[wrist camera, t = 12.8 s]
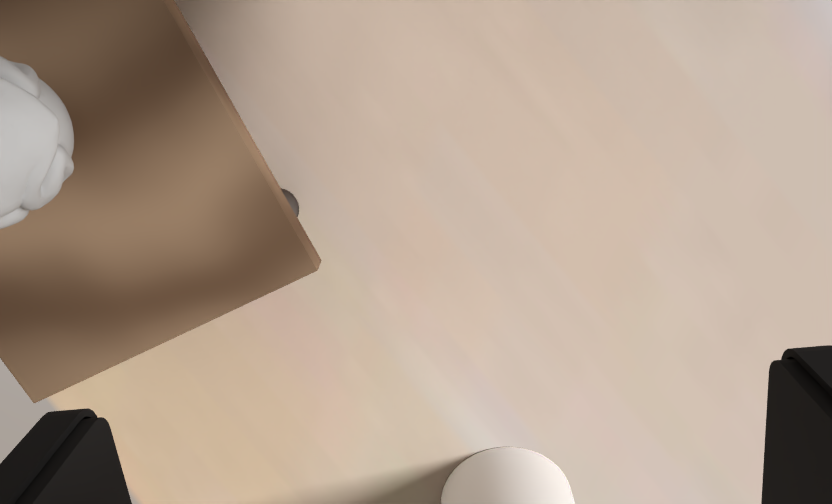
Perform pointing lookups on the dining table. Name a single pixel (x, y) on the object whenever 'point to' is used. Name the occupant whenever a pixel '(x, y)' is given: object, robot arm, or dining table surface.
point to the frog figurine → (30, 142)
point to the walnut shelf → (135, 196)
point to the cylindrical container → (507, 479)
